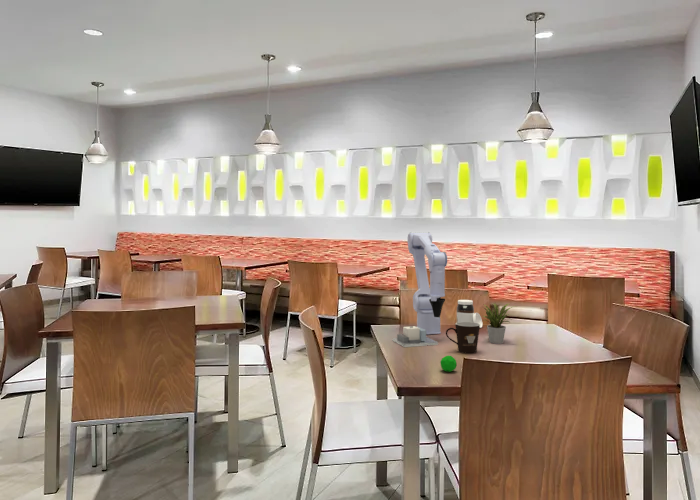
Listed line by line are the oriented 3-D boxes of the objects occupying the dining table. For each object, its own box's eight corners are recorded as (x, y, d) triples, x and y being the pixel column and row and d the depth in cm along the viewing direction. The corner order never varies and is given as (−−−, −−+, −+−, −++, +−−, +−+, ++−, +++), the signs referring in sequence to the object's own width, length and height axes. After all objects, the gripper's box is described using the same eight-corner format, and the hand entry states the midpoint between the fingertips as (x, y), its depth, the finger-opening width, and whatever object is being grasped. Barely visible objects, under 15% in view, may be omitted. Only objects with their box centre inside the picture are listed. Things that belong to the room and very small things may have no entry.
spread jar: (455, 323, 241) (456, 299, 241) (480, 324, 240) (480, 299, 239) (457, 328, 229) (457, 302, 229) (483, 329, 228) (484, 303, 227)
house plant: (520, 340, 206) (521, 299, 205) (516, 347, 193) (516, 304, 193) (484, 337, 212) (484, 297, 211) (477, 344, 199) (478, 301, 199)
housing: (414, 338, 204) (414, 325, 204) (419, 341, 200) (419, 327, 200) (403, 339, 203) (403, 326, 203) (407, 341, 199) (407, 328, 198)
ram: (418, 337, 206) (418, 327, 206) (426, 340, 199) (426, 330, 199) (414, 337, 206) (414, 327, 205) (421, 341, 199) (421, 330, 199)
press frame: (424, 338, 210) (424, 331, 210) (438, 344, 198) (438, 337, 198) (392, 340, 206) (392, 333, 206) (404, 347, 194) (404, 339, 194)
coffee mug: (480, 349, 190) (480, 322, 190) (478, 355, 182) (478, 327, 182) (448, 347, 194) (448, 320, 193) (445, 352, 186) (445, 325, 185)
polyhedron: (439, 372, 160) (439, 357, 160) (441, 368, 165) (442, 353, 165) (455, 374, 159) (455, 358, 159) (457, 370, 163) (457, 355, 163)
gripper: (431, 280, 213) (431, 313, 214) (423, 284, 199) (423, 319, 200) (448, 281, 210) (448, 314, 211) (441, 285, 197) (441, 320, 198)
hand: (437, 316), depth 205 cm, fingers closed
